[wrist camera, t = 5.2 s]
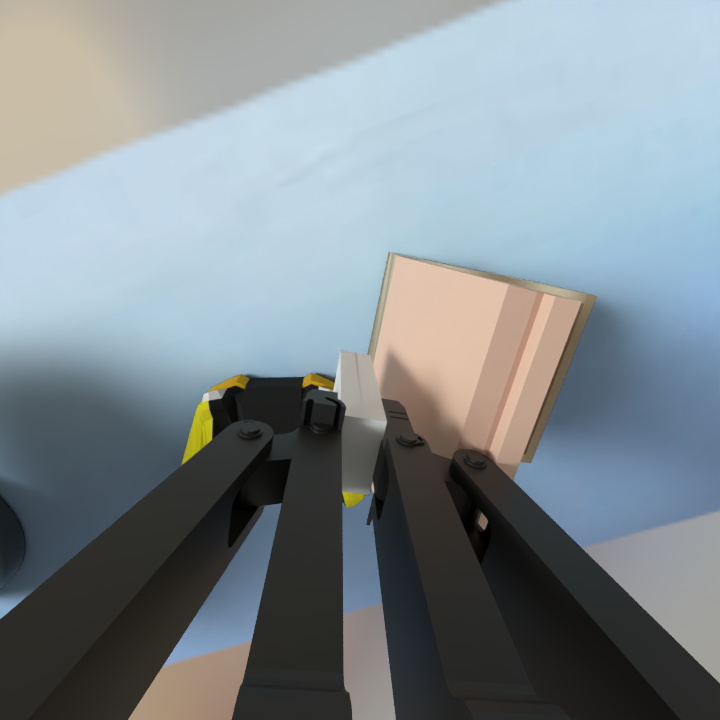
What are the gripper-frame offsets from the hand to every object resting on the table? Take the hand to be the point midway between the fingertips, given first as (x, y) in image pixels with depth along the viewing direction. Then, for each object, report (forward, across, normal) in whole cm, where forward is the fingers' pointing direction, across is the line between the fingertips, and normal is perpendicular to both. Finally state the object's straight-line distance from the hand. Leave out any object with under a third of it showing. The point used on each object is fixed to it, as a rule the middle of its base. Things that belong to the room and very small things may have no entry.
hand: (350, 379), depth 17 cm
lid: (-2, +3, 0) cm, 4 cm away
